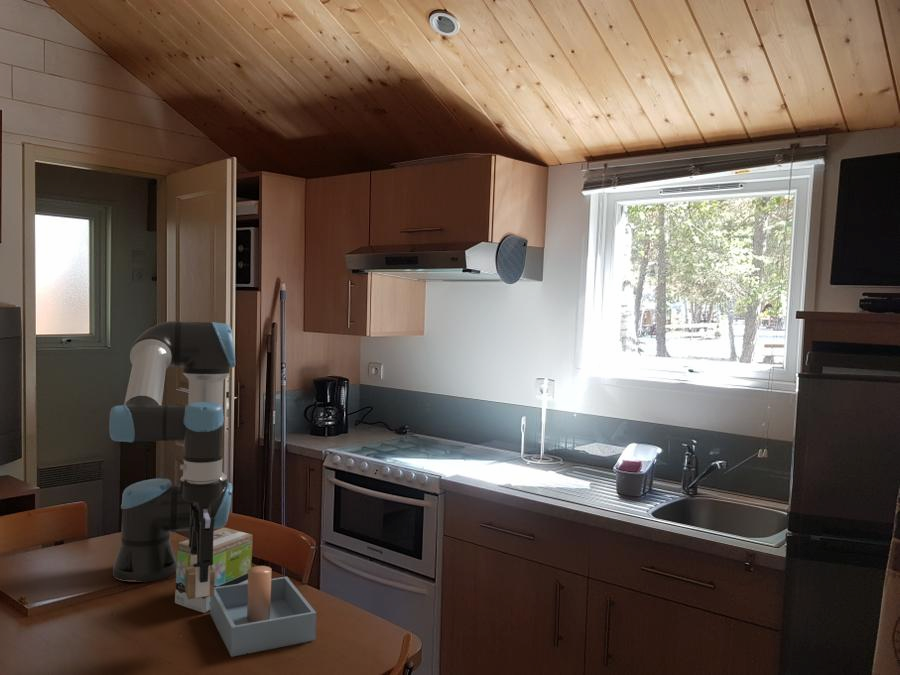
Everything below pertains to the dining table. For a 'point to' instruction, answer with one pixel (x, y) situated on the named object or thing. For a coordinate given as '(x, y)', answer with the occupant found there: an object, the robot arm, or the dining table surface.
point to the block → (190, 581)
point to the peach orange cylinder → (259, 593)
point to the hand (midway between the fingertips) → (199, 590)
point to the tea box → (216, 565)
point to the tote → (284, 627)
